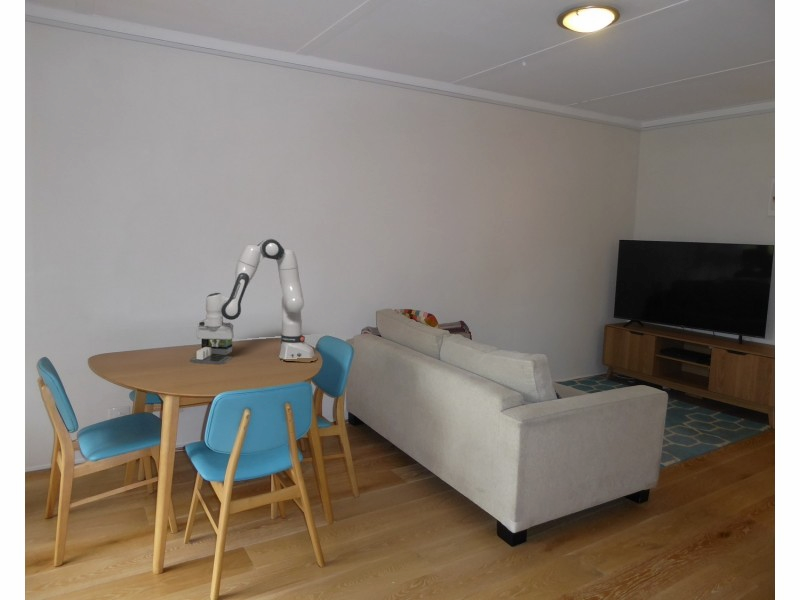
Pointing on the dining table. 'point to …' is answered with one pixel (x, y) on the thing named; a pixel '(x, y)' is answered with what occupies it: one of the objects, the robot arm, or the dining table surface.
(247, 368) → the dining table surface
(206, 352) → the block
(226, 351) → the tea box
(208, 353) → the block
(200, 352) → the breaker
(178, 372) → the dining table surface
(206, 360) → the panel
